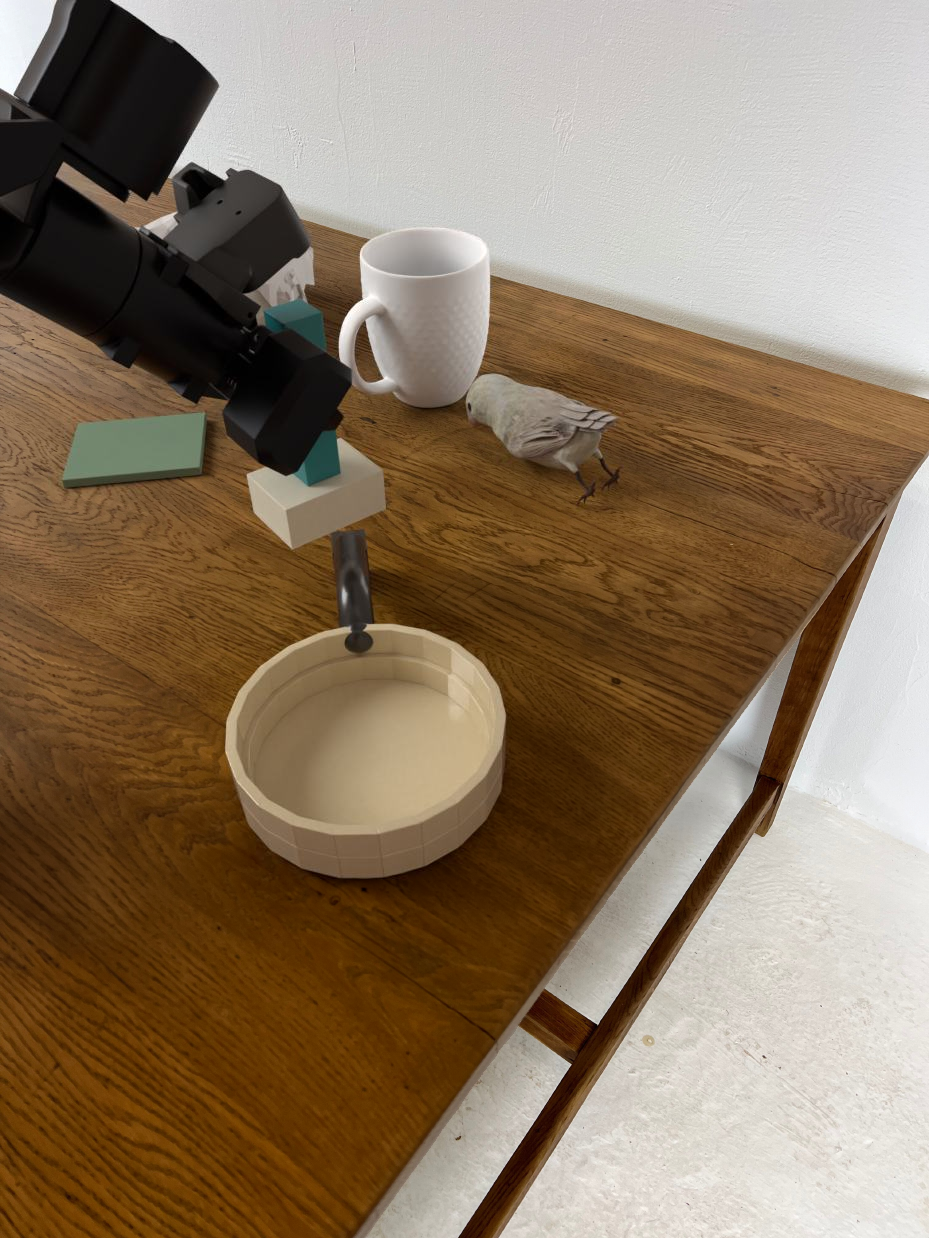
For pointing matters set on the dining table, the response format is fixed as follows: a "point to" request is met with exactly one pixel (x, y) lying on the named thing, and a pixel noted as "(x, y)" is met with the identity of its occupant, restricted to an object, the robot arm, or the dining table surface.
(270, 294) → the bowl
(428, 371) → the mug
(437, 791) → the pan
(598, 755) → the dining table surface
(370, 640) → the pan handle
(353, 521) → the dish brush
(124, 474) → the mat
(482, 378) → the decorative bird
